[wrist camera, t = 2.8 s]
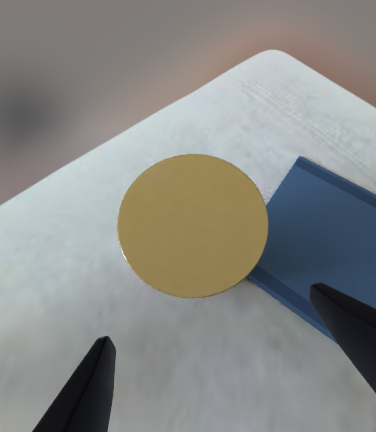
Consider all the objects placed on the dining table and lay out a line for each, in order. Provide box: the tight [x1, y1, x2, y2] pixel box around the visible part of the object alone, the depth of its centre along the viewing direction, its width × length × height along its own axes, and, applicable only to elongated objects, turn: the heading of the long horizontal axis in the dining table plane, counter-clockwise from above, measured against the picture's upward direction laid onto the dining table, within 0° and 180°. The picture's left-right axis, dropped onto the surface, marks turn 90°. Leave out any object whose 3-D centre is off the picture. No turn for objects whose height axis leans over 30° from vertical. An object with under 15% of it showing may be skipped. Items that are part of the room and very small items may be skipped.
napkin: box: [246, 156, 376, 344], centre depth 19 cm, size 20×16×1 cm
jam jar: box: [117, 154, 269, 298], centre depth 14 cm, size 6×6×13 cm
